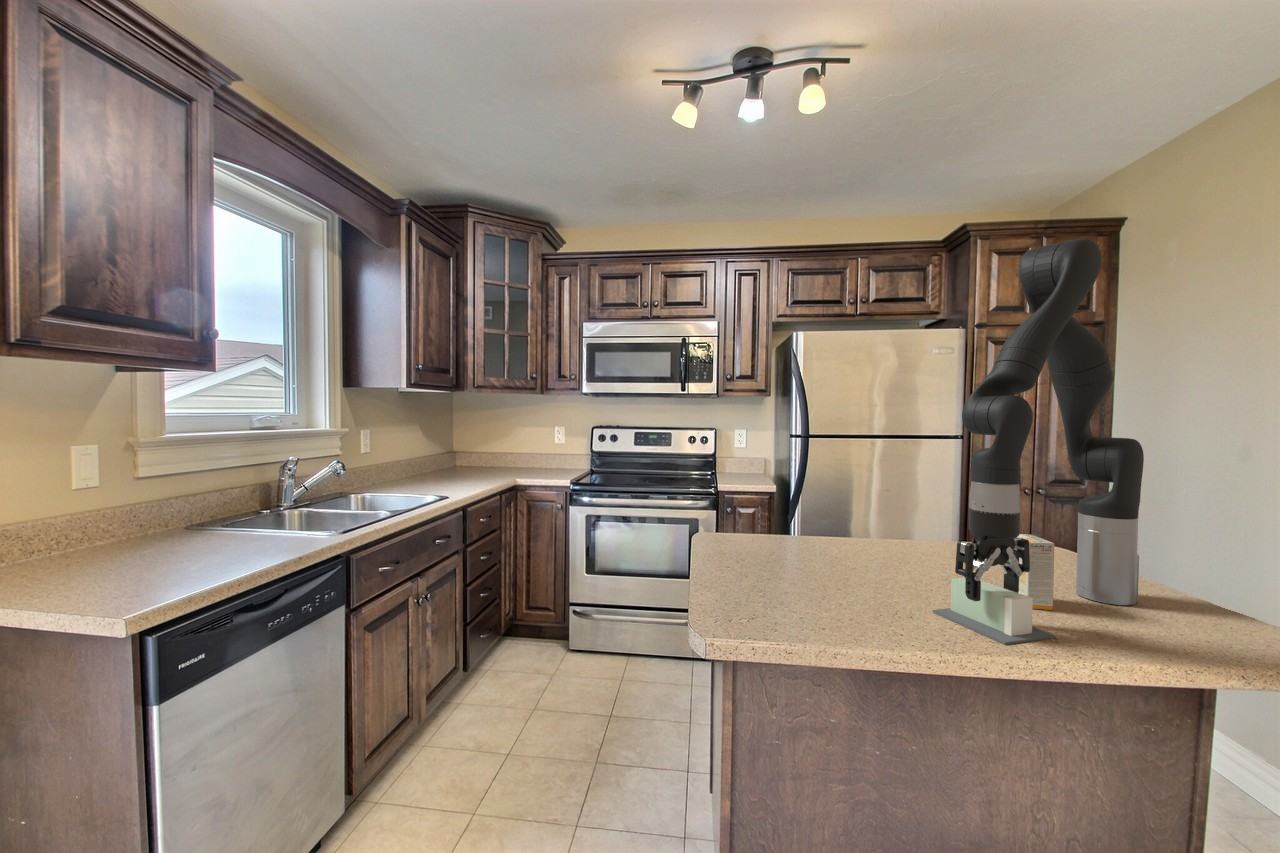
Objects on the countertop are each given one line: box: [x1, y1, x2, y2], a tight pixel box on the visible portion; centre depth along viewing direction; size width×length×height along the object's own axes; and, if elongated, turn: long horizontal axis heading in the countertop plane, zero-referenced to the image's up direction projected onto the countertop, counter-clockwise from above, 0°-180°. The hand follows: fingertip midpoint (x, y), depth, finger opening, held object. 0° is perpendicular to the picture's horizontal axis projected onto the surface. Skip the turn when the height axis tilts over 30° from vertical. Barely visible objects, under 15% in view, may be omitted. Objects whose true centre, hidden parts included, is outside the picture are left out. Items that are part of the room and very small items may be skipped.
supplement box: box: [1018, 533, 1055, 611], centre depth 104 cm, size 8×5×13 cm, turn 168°
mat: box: [932, 607, 1056, 646], centre depth 93 cm, size 11×14×1 cm
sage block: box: [950, 576, 1033, 636], centre depth 93 cm, size 5×6×12 cm
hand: (992, 597), depth 93 cm, fingers open, 8 cm apart
